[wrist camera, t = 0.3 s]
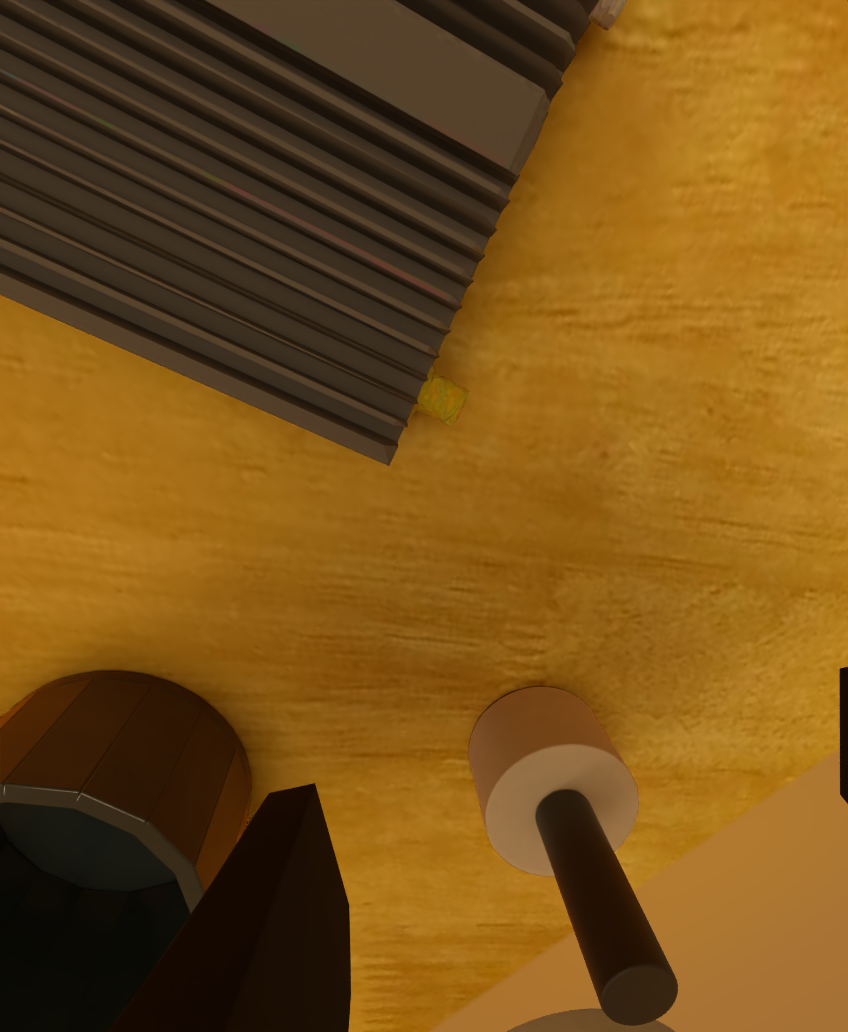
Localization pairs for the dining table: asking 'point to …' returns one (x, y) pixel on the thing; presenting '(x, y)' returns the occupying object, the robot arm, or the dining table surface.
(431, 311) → the electronic device
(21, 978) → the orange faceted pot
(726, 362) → the dining table surface
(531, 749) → the brush
